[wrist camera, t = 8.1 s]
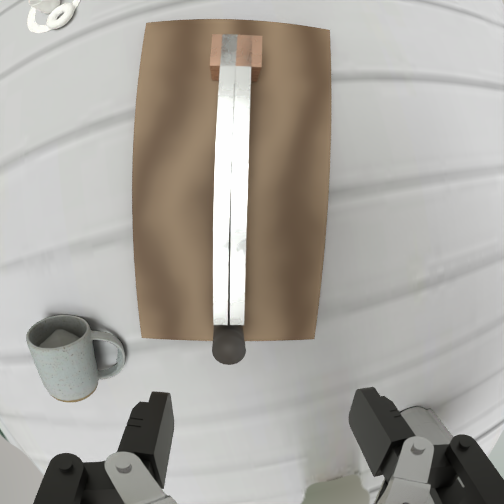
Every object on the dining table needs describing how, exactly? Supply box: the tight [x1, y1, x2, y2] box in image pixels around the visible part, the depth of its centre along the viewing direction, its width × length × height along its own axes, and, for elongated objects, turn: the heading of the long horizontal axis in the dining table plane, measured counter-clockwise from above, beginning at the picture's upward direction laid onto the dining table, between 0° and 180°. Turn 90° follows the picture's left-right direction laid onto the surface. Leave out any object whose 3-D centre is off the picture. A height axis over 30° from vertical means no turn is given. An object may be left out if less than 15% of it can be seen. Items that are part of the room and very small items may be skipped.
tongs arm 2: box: [210, 34, 237, 325], centre depth 25 cm, size 24×2×4 cm, turn 178°
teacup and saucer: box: [27, 0, 80, 33], centre depth 19 cm, size 9×8×4 cm
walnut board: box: [132, 19, 331, 365], centre depth 25 cm, size 18×32×6 cm, turn 178°
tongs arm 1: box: [229, 35, 262, 325], centre depth 25 cm, size 24×2×4 cm, turn 178°
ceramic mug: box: [26, 315, 125, 402], centre depth 27 cm, size 10×8×7 cm
